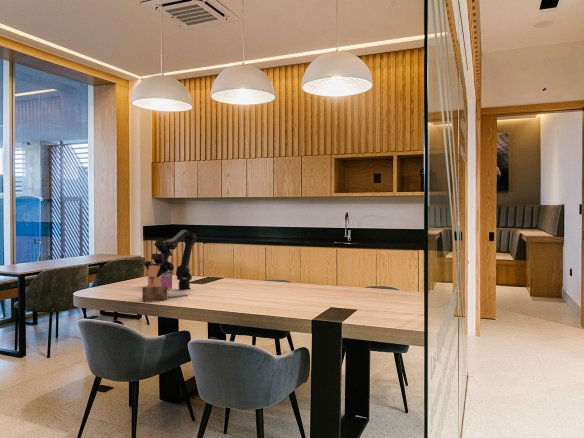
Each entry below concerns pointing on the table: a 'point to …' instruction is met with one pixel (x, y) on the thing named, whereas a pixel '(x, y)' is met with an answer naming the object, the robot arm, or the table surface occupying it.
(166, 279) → the gum box
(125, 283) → the table surface
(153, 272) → the letter block
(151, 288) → the walnut screen
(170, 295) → the grey mat
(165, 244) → the robot arm
